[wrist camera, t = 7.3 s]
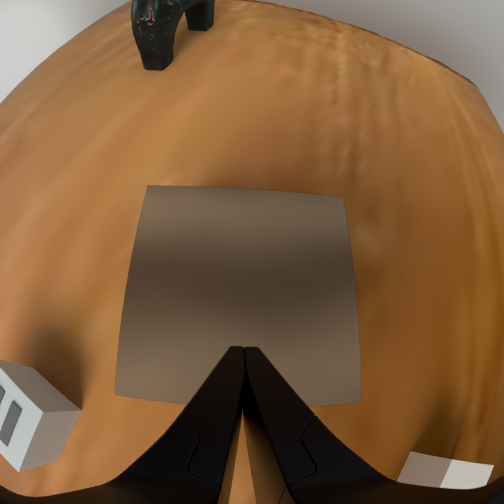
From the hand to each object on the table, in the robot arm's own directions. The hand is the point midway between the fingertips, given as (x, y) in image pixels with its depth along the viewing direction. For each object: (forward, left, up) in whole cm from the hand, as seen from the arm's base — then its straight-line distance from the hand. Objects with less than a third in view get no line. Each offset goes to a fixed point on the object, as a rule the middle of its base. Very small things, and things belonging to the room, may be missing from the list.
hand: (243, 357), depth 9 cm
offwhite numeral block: (-3, -17, -10) cm, 20 cm away
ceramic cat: (+34, +26, -10) cm, 44 cm away
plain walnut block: (+3, +1, -10) cm, 11 cm away
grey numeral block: (-10, +9, -10) cm, 17 cm away
